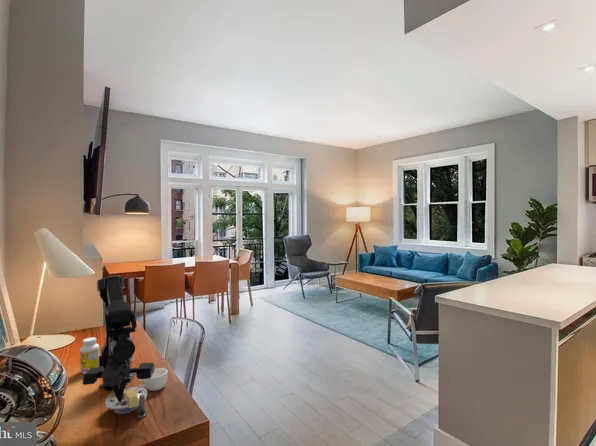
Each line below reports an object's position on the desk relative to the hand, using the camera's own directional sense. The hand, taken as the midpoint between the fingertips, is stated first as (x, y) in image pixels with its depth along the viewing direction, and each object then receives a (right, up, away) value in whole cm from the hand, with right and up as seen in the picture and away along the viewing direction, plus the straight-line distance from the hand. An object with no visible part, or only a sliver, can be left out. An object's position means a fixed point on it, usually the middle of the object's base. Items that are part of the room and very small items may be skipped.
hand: (120, 401), depth 103 cm
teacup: (+2, -5, +18) cm, 19 cm away
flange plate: (0, -2, +4) cm, 5 cm away
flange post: (-1, -5, +5) cm, 7 cm away
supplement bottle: (-30, -6, +34) cm, 46 cm away
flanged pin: (+6, -5, +2) cm, 8 cm away
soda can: (-20, -6, +42) cm, 47 cm away
